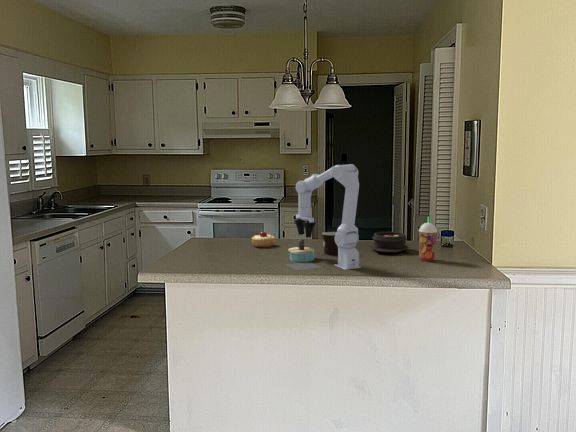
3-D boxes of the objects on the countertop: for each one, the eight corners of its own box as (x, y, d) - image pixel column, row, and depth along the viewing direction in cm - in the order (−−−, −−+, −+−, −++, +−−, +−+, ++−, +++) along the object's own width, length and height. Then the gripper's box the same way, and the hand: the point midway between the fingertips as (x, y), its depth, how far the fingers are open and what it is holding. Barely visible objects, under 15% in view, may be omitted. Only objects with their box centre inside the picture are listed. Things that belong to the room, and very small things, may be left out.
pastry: (257, 250, 278) (257, 232, 276) (248, 245, 288) (247, 229, 287) (279, 246, 283) (278, 230, 282) (269, 242, 294) (268, 226, 292)
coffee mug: (338, 256, 259) (339, 235, 258) (320, 255, 261) (320, 234, 259) (341, 251, 270) (341, 231, 269) (324, 250, 272) (324, 230, 271)
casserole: (407, 256, 257) (407, 239, 256) (367, 254, 262) (367, 237, 261) (410, 246, 281) (410, 230, 280) (373, 245, 286) (373, 229, 285)
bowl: (318, 260, 250) (318, 252, 249) (296, 263, 245) (296, 254, 244) (307, 256, 260) (307, 247, 259) (285, 258, 255) (285, 250, 254)
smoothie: (424, 257, 255) (425, 214, 252) (440, 260, 249) (441, 216, 246) (414, 260, 249) (415, 216, 246) (430, 263, 243) (431, 218, 241)
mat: (322, 268, 235) (322, 267, 235) (296, 271, 230) (296, 270, 230) (309, 262, 246) (309, 261, 246) (284, 265, 241) (284, 264, 241)
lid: (319, 252, 249) (319, 240, 248) (296, 255, 243) (296, 243, 243) (305, 247, 260) (305, 236, 259) (283, 250, 254) (283, 239, 253)
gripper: (289, 205, 258) (290, 234, 259) (304, 209, 245) (304, 239, 246) (303, 204, 261) (303, 232, 262) (318, 208, 248) (318, 237, 249)
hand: (304, 235), depth 255 cm, fingers open, 7 cm apart
